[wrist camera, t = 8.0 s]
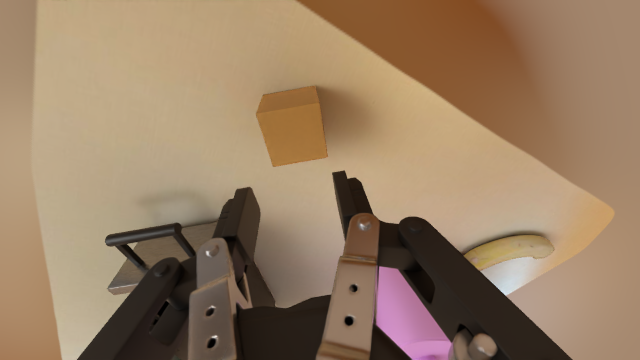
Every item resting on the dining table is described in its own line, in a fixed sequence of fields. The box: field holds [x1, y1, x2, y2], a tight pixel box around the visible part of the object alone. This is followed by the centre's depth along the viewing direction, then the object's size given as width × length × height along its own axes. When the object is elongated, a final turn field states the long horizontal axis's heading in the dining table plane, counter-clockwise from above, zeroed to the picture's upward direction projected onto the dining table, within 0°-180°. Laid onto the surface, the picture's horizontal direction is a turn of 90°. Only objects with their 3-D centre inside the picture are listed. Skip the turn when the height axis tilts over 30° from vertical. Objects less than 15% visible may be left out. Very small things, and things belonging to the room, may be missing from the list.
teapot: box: [377, 267, 452, 360], centre depth 37 cm, size 23×21×15 cm
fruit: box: [464, 235, 554, 271], centre depth 39 cm, size 7×15×3 cm, turn 92°
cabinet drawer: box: [105, 222, 217, 321], centre depth 30 cm, size 18×10×7 cm, turn 9°
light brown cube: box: [256, 86, 328, 167], centre depth 22 cm, size 5×5×5 cm
